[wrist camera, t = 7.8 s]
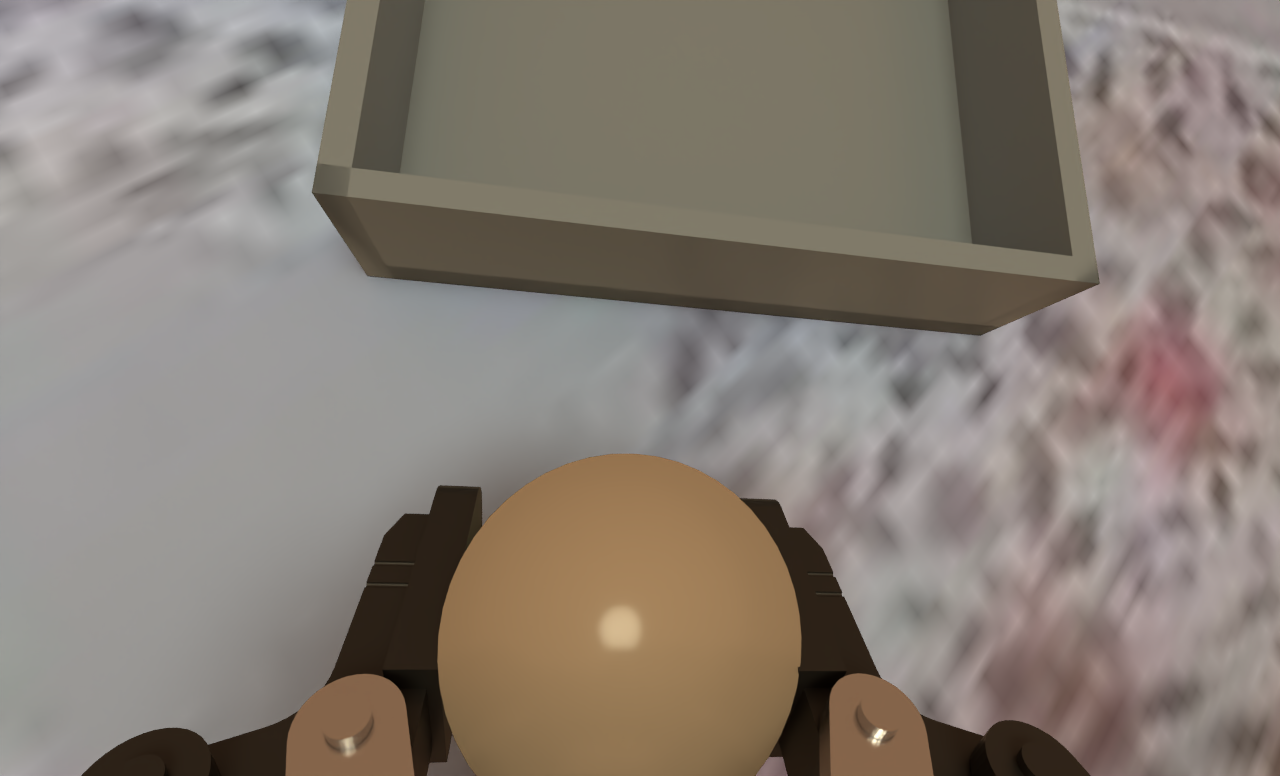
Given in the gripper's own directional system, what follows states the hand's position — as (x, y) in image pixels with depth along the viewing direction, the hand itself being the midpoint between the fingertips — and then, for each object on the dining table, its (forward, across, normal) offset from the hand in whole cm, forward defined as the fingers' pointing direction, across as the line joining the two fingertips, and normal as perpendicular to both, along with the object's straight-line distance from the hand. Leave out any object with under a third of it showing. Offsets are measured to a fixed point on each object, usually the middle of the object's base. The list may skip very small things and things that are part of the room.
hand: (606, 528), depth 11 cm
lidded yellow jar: (+2, 0, +4) cm, 5 cm away
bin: (+19, -4, -8) cm, 21 cm away
